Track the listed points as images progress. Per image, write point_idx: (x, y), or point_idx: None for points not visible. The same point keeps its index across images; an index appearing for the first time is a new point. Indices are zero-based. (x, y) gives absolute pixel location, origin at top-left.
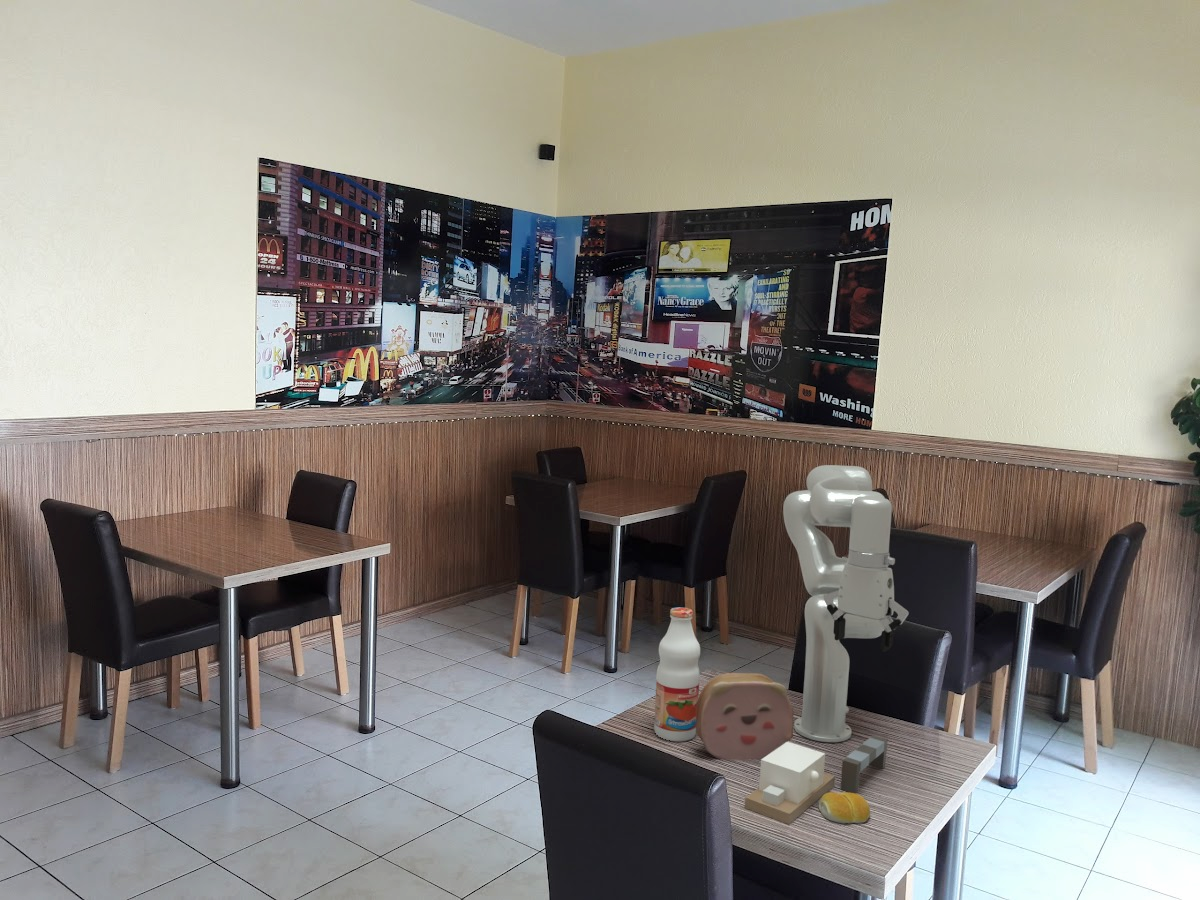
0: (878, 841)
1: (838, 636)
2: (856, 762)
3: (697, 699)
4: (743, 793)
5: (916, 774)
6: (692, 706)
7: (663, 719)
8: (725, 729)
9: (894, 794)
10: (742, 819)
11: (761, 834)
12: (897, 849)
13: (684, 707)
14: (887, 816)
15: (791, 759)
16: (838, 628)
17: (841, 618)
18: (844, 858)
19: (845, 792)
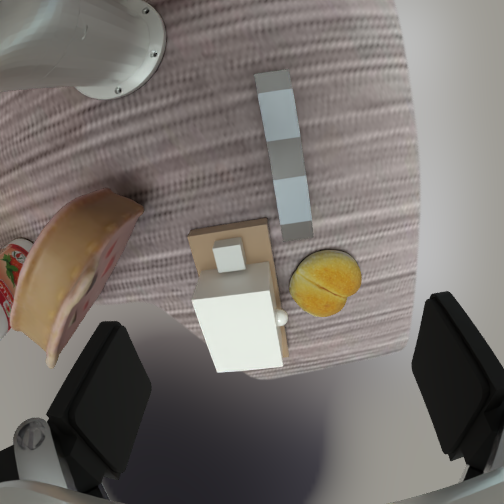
0: (386, 302)
1: (145, 399)
2: (307, 230)
3: (11, 284)
4: (199, 330)
5: (339, 59)
6: None
7: None
8: (88, 301)
9: (351, 164)
10: (244, 370)
11: (279, 376)
12: (409, 300)
13: None
14: (373, 239)
15: (245, 345)
16: (131, 439)
17: (91, 464)
18: (368, 352)
19: (317, 272)
